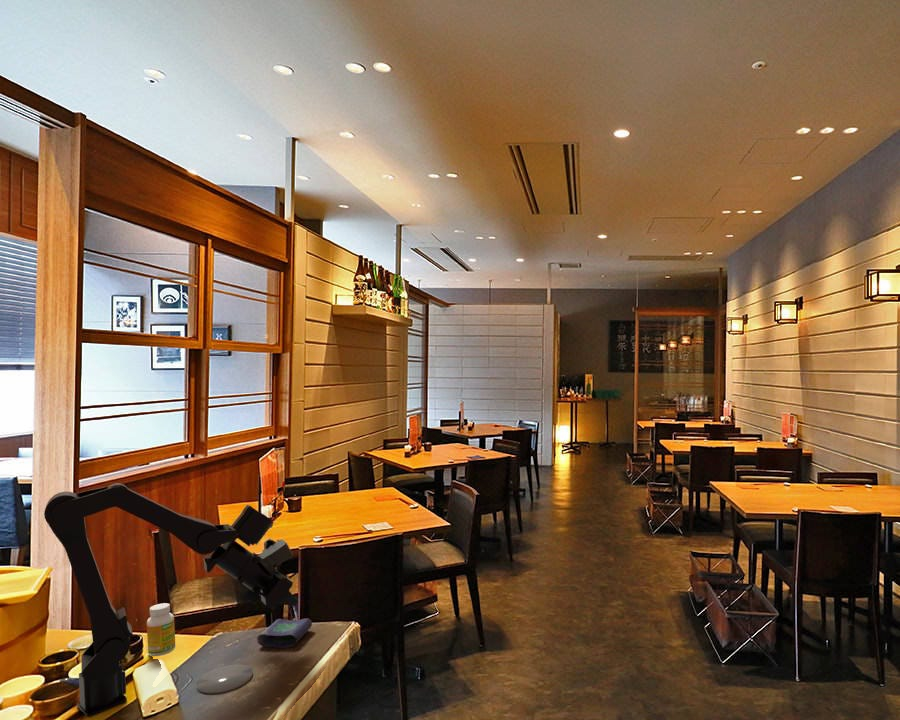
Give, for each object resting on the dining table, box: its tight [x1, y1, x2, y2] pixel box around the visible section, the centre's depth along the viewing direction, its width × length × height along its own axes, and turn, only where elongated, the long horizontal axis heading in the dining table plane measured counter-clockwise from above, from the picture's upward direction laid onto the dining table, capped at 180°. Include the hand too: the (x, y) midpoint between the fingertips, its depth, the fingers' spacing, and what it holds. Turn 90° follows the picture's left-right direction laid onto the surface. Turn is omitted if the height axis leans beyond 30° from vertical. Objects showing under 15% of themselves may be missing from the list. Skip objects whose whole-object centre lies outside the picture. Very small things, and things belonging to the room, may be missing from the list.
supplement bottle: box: [146, 602, 176, 657], centre depth 129 cm, size 5×5×10 cm
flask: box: [256, 617, 313, 649], centre depth 131 cm, size 9×3×11 cm
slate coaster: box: [196, 663, 253, 695], centre depth 113 cm, size 10×10×1 cm
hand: (296, 603), depth 127 cm, fingers closed
